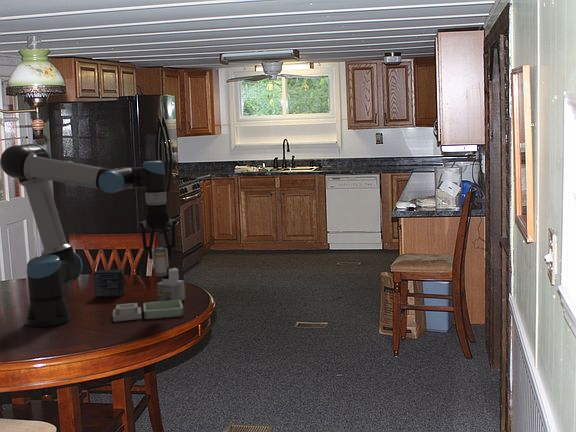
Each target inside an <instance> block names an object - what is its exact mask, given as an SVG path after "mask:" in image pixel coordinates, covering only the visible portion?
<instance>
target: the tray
mask: <svg viewBox="0 0 576 432" xmlns="http://www.w3.org/2000/svg"><path fill="white" fill-rule="evenodd" d="M142 306H143V316H144V320H152V319H153V320H154V319H164V317H165V318H172V317H173V318H175V317H184V316H185V311H184V305H183V302H182V301H181V300H170V301H159V302H158V301H149V302H143V305H142Z"/></svg>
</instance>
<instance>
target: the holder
mask: <svg viewBox="0 0 576 432" xmlns="http://www.w3.org/2000/svg"><path fill="white" fill-rule="evenodd" d="M142 319H143V318H142V307H141V306H138V302H132V303H120V304H119V303H117V304H116V305H115V308H114V309H113V310H112V321H113V322H123V321H134V320H142Z"/></svg>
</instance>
